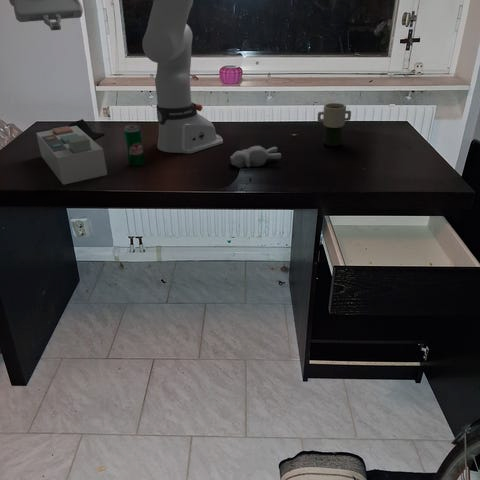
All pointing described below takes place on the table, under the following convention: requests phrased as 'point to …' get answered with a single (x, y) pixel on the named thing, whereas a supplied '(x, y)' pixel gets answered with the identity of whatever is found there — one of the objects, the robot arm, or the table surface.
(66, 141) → the teal key
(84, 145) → the sage green key
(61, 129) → the terracotta key
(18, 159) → the table surface
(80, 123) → the handheld gaming console
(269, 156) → the bunny figurine
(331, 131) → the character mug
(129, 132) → the soda can
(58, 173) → the keypad
